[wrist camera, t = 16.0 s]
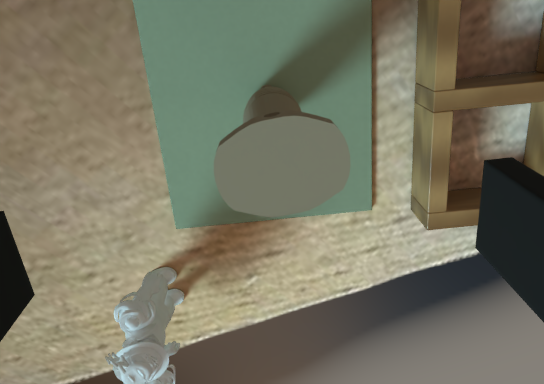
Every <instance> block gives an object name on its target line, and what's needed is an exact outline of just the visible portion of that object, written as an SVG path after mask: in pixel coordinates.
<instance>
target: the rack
mask: <svg viewBox="0 0 544 384" xmlns="http://www.w3.org/2000/svg"><path fill="white" fill-rule="evenodd" d="M460 11H461V0H418V25H417V52H416V80H415V82H416V84H415V108H414V136H413V164H412V192H411V194H412V195H411V210H412V211H413V213H414V214H415V215H416V216H417V218H418V219H419V220H420V222H421V223H422V224H423V225H424V227H425V228H426V229H427V230H433V229H444V228H454V227H464V226H474V225H478V218H479V208H480V199H481V189H482V188H472V189H462V190H451V191H448V182H449V168H450V153H451V139H452V125H453V110H463V109H473V108H484V107H494V106H504V105H515V104H525V103H531V110H530V118H529V125H528V132H527V139H526V147H525V154H524V161H523V164H524V165H526V166H527V167H529V168H531V169H532V170H534V171H536V172H537V173H539V174H541V175H542V176H544V13H543V21H542V28H541V35H540V43H539V50H538V57H537V65H536V71H535V72H524V73H514V74H503V75H493V76H482V77H472V78H461V79H456V68H457V54H458V40H459V25H460Z"/></svg>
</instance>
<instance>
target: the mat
mask: <svg viewBox="0 0 544 384" xmlns="http://www.w3.org/2000/svg"><path fill="white" fill-rule="evenodd" d="M133 4H134V9H135V14H136V19H137V25H138V30H139V35H140V41H141V46H142V51H143V56H144V62H145V67H146V72H147V77H148V83H149V88H150V93H151V99H152V104H153V109H154V114H155V120H156V125H157V130H158V135H159V141H160V146H161V151H162V156H163V162H164V167H165V172H166V178H167V183H168V188H169V193H170V199H171V204H172V209H173V214H174V220H175V225H176V229H181V228H191V227H201V226H212V225H222V224H232V223H243V222H253V221H263V220H274V219H284V218H294V217H305V216H315V215H325V214H336V213H346V212H356V211H367V210H372V0H133ZM264 85H271V86H272V87H278V88H281V89H283V90H285V91H287V92H288V93H289V94H290V95H291V96H292V97H293V98H294V99H295V100H296V101H297V103H298V105H299V107H300V109H301V111H302V112H304V113H309V114H313V115H317V116H321V117H324V118H328V119H330V120H331V121H332V122H333V123H334V124H335V125H336V126H337V127H338V129H339V130H340V131H341V133H342V134H343V136H344V137H345V140H346V142H347V145H348V148H349V153H350V173H349V177H348V180H347V183H346V185H345V187H344V189H343V190H342V191H340V192H339V193H337V194H336V195H334V196H333V197H331V198H330V199H328V200H327V201H325V202H324V203H322V204H321V205H319V206H317V207H315V208H313V209H311V210H308V211H304V212H301V213H296V214H290V215H285V216H279V217H263V216H257V215H252V214H248V213H243V212H239V211H235V210H233V209H232V208H231V207H230V206H229V205H228V204H227V203H226V202H225V201H224V200H223V198H222V196H221V195H220V193H219V191H218V188H217V185H216V182H215V177H214V159H215V155H216V151H217V148H218V145H219V142H220V141H221V140H222V139H223V138H224V137H226V136H227V135H228V134H229V133H231V132H232V131H233V130H235V129H236V128H238V127H239V126H241V125H242V124H243V115H244V110H245V107H246V105H247V102H248V101H249V99H250V98H251V96H252V95H253V94H254V93H255V92H256V91H258V90H260V89H261V87H262V86H264Z"/></svg>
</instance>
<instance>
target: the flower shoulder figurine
mask: <svg viewBox="0 0 544 384" xmlns="http://www.w3.org/2000/svg"><path fill="white" fill-rule="evenodd" d="M176 277H177V273H176V271H175V270H174V269H173V268H170V267H162V268H159V269H156V270H154V271H152V272H148V273H147V274H146V275H145V277H144V279H143V283H142V286H141V288H140V289H139V290H138V291H137V292H132V293H129V294H128V295H126V296H125V297H124V298H123V299H122V300H121V301H123V300H124V299H125V298H127V297H129V296H134V298H133V300H126V301H123V302H121V301H120V303H119V304H118V305H117V306H116V307H115V310H114V318H115V320H116V321H117V322H119V323H120V328H121V329H122V330H123V331H124V332H125V337H126V340H125V341H124V343H123V345H122V346H123V349H121V350H120V351H119V352H118V353H117V354H115V353H113V352H112V356H113V357H114V359H113V358H112V357H111V355H110V353H109V354H108V355H109V357H107V356H106V357H105V358H106V360H107V362H108V363H109V364H110V363H111V364H112V365H113V370H114V372H115V375H116V376H117V378H118V379H119V380H121V381H123V382H124V383H125V384H173V383H174V384H175V367H174V365H172V364H171V365H169V366H168V363H169V357H168V356H171V355H174V354H176V352H177V351H178V350H179V347H180V343H176V341H174V342H172V343H170V342H169V343H168V344H167V345H164V343H165V337H166V335H165V329H166V327H167V325H168V323H169V321H170V320H171V317H172V315H173V313H174V310H175V305H178V304H180V303H181V302H183V300H184V293H183V292H182V291H181V290H178V289H171V290H168V286H167V285H168V284H170V283H172V282H173V281H174V280H175V279H176ZM118 312H119V320H118ZM109 360H110V361H109ZM168 367H171V368H172V369H173V371H174V375H173V373H171V372H170V371H167V368H168ZM171 377H172V379H173V382H172V383H171V381H172V379H171Z"/></svg>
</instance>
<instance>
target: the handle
mask: <svg viewBox="0 0 544 384" xmlns="http://www.w3.org/2000/svg"><path fill="white" fill-rule="evenodd" d="M349 173H350V153H349V148H348V145H347V142H346V140H345V137H344V136H343V134H342V133H341V131H340V130H339V129H338V127H337V126H336V125H335V124H334V123H333V122H332V121H331V120H330V119H328V118H324V117H321V116H317V115H313V114H309V113H304V112H302V111H301V109H300V107H299V105H298V103H297V101H296V100H295V99H294V98H293V97H292V96H291V95H290V94H289V93H288V92H287V91H285V90H283V89H281V88H278V87H272V86H271V85H264V86H262V87H261V89H260V90H258V91H256V92H255V93H254V94H253V95H252V96H251V98H250V99H249V101H248V102H247V105H246V107H245V110H244V115H243V124H242V125H241V126H239V127H238V128H236V129H235V130H233V131H232V132H231V133H229V134H228V135H227V136H226V137H224V138H223V139H222V140H221V141H220V142H219V145H218V148H217V151H216V155H215V159H214V177H215V182H216V185H217V188H218V191H219V193H220V195H221V196H222V198H223V200H224V201H225V202H226V203H227V204H228V205H229V206H230V207H231V208H232V209H233V210H235V211H239V212H243V213H248V214H252V215H257V216H263V217H279V216H285V215H290V214H296V213H301V212H304V211H308V210H311V209H313V208H315V207H317V206H319V205H321V204H322V203H324V202H325V201H327V200H328V199H330V198H331V197H333V196H334V195H336V194H337V193H339V192H340V191H342V190H343V189H344V187H345V185H346V183H347V180H348V177H349Z"/></svg>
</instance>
